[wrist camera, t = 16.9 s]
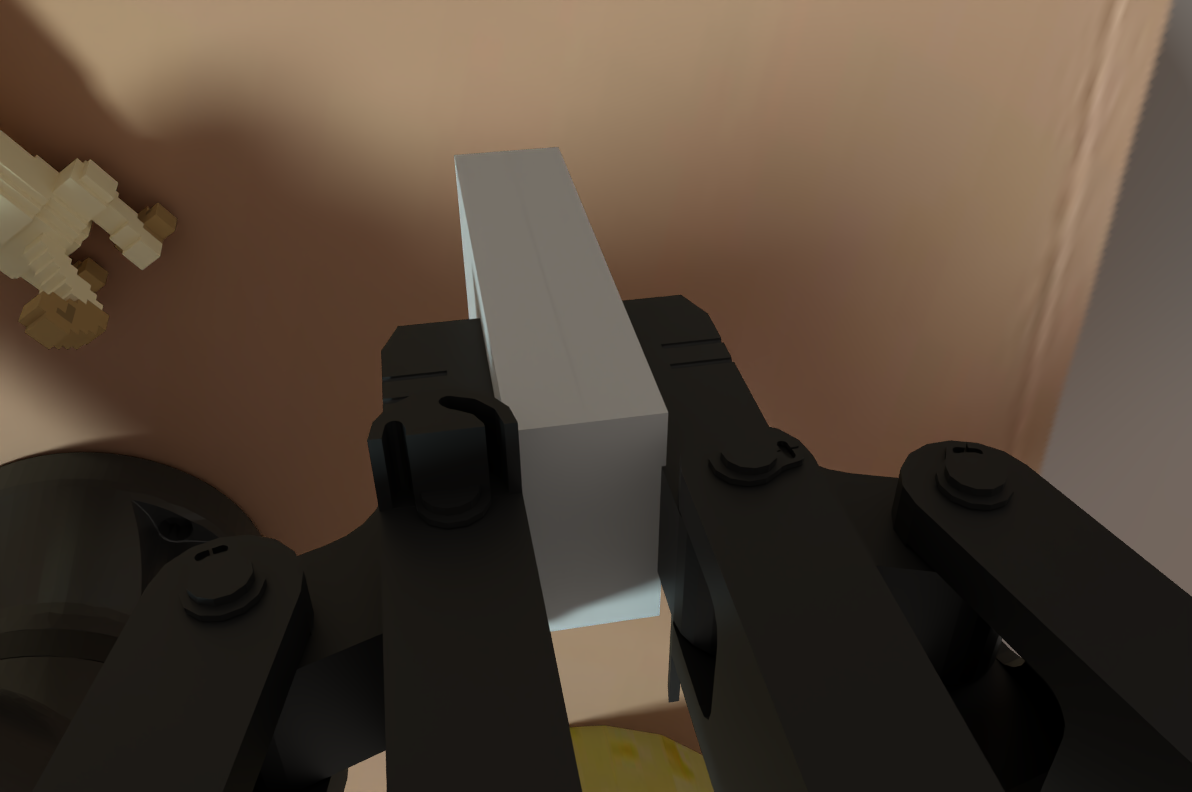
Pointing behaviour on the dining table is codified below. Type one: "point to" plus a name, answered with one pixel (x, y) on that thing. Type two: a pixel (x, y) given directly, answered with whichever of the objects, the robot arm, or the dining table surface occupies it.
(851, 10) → the dining table surface
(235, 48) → the dining table surface
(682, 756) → the cheese
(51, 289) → the cream elongated figure
